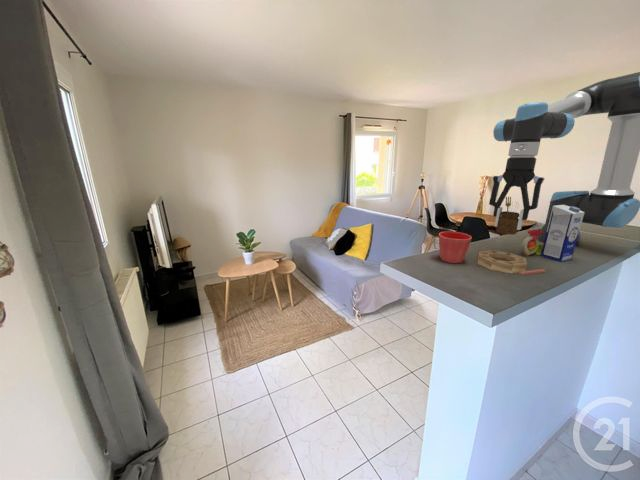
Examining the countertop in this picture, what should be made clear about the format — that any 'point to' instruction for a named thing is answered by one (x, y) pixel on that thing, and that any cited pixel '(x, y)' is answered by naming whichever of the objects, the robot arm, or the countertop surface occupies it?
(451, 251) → the flower pot
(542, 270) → the pink stick
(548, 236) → the milk carton
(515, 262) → the octagonal ring
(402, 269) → the countertop surface
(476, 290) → the countertop surface
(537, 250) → the bird rattle
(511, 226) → the utensil holder
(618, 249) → the countertop surface
